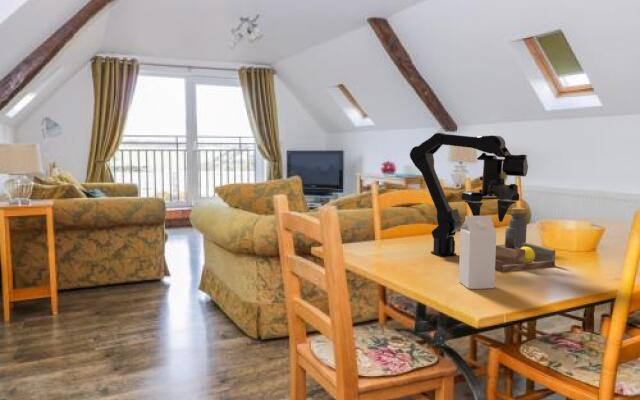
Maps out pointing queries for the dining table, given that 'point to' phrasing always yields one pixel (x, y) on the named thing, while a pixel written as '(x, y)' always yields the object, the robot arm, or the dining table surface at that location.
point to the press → (542, 259)
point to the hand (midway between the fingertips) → (489, 222)
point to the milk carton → (477, 252)
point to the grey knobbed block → (510, 249)
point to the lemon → (529, 254)
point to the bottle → (519, 225)
